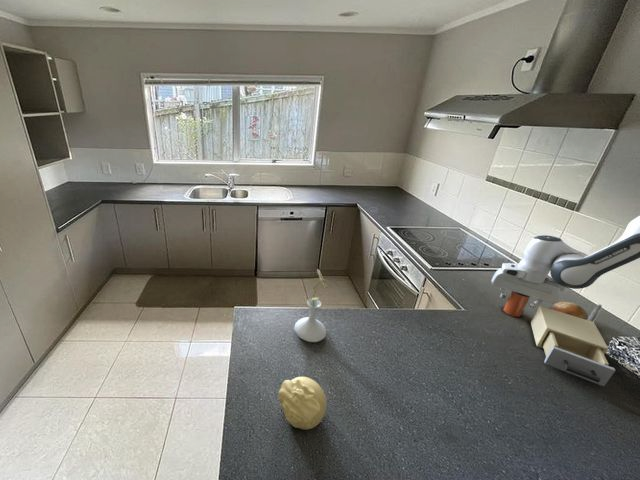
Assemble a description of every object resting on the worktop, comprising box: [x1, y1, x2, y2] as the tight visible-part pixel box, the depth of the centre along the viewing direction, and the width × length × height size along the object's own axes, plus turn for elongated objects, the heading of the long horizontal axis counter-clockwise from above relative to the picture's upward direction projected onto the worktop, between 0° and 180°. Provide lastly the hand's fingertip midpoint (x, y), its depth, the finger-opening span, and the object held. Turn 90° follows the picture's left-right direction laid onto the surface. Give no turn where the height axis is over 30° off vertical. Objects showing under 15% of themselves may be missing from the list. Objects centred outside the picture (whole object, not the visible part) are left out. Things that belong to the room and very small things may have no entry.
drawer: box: [542, 331, 616, 387], centre depth 92 cm, size 19×13×7 cm
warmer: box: [530, 305, 609, 356], centre depth 101 cm, size 16×15×9 cm
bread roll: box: [551, 301, 589, 320], centre depth 116 cm, size 10×10×8 cm
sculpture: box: [277, 376, 327, 430], centre depth 73 cm, size 12×12×11 cm
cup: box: [503, 291, 531, 318], centre depth 116 cm, size 6×6×10 cm
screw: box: [587, 303, 603, 323], centre depth 107 cm, size 13×5×5 cm
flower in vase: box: [294, 269, 329, 343], centre depth 99 cm, size 13×11×25 cm
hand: (516, 301), depth 116 cm, fingers open, 8 cm apart
